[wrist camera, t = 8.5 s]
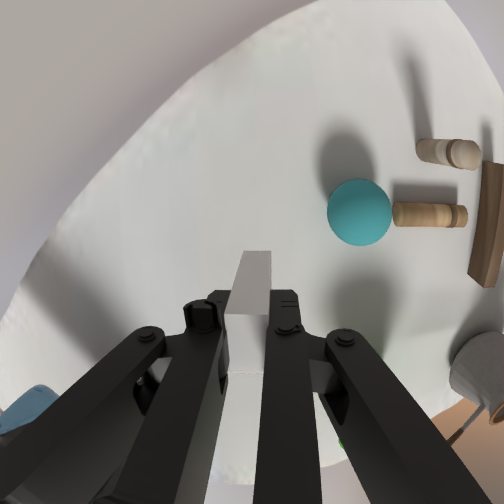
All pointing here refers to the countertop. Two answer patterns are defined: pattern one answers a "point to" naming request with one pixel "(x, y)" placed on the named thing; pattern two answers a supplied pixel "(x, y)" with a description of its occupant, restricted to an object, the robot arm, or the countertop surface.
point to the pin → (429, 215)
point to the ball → (359, 212)
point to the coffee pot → (480, 377)
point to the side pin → (450, 153)
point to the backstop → (489, 227)
